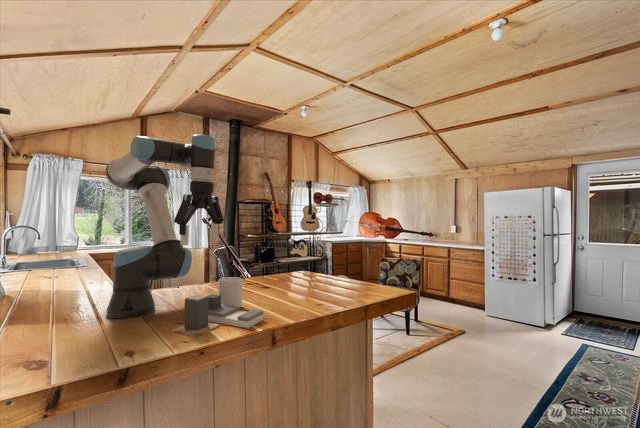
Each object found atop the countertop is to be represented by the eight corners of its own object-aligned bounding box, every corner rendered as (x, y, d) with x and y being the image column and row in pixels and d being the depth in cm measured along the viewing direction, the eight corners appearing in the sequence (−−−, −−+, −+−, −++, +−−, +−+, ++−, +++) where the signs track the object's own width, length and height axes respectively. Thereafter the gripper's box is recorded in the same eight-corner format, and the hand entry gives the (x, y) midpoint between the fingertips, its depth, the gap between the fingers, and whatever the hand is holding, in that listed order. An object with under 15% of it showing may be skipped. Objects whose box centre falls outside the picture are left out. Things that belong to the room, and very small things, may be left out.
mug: (243, 310, 123) (244, 280, 123) (219, 312, 119) (219, 282, 119) (239, 302, 134) (239, 275, 134) (216, 304, 130) (217, 276, 130)
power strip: (189, 317, 113) (190, 297, 113) (207, 310, 121) (208, 291, 121) (247, 328, 104) (248, 305, 104) (263, 319, 112) (263, 298, 112)
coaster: (171, 331, 99) (171, 329, 99) (195, 321, 109) (195, 320, 109) (196, 336, 96) (196, 334, 96) (219, 326, 105) (219, 324, 105)
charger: (184, 328, 101) (184, 298, 101) (196, 323, 105) (196, 294, 105) (196, 330, 99) (197, 299, 99) (208, 325, 103) (208, 296, 103)
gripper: (180, 177, 98) (178, 247, 98) (234, 184, 121) (232, 241, 121) (163, 177, 101) (161, 245, 101) (219, 184, 124) (217, 239, 124)
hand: (200, 243), depth 111 cm, fingers open, 13 cm apart
